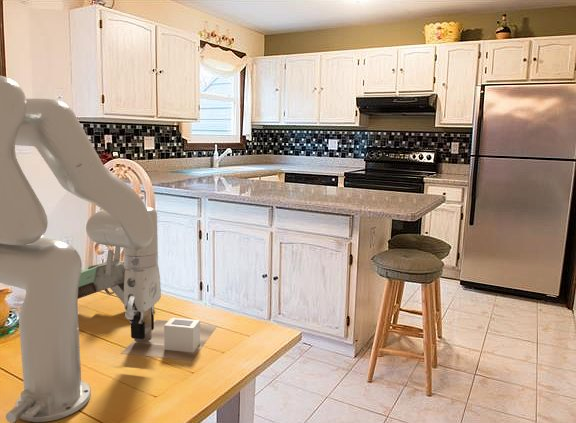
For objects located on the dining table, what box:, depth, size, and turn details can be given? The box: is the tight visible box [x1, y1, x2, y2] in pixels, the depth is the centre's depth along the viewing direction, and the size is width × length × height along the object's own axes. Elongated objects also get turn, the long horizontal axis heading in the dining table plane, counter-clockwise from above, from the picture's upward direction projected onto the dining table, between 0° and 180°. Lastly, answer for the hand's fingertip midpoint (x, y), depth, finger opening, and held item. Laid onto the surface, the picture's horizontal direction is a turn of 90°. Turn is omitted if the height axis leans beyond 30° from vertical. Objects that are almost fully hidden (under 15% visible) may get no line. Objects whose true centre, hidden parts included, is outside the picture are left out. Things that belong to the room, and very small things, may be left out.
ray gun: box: [78, 246, 125, 305], centre depth 125 cm, size 7×32×20 cm, turn 86°
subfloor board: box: [120, 319, 218, 362], centre depth 109 cm, size 19×17×1 cm
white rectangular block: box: [164, 317, 201, 352], centre depth 104 cm, size 4×7×6 cm, turn 82°
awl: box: [133, 307, 152, 342], centre depth 105 cm, size 4×4×9 cm
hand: (142, 333), depth 106 cm, fingers closed on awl, 4 cm apart
